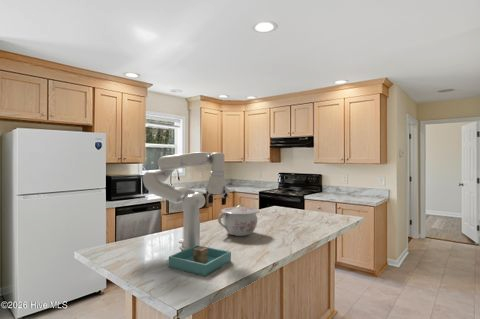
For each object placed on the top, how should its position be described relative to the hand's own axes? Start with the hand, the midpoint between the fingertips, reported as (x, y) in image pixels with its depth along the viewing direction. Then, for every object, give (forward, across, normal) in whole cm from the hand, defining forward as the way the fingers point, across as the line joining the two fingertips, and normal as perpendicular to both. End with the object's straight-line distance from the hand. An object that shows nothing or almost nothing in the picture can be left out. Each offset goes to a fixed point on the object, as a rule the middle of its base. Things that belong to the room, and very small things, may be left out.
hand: (217, 203), depth 165 cm
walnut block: (+26, +8, -21) cm, 34 cm away
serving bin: (+27, +8, -21) cm, 35 cm away
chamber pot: (+27, -11, +39) cm, 49 cm away
